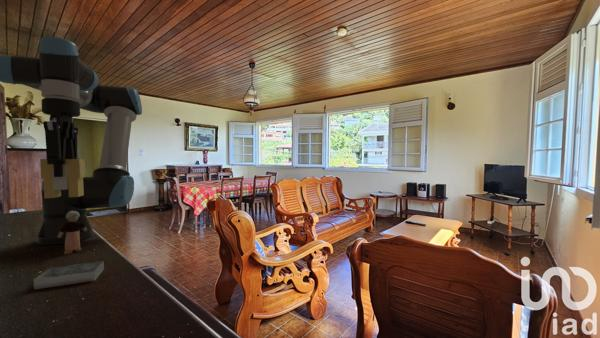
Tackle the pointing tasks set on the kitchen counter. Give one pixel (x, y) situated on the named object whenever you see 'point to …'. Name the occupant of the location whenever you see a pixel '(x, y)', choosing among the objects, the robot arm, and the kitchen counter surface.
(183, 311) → the kitchen counter surface
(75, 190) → the yellow notched block
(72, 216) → the grandmother figurine
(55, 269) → the grey flat frame
